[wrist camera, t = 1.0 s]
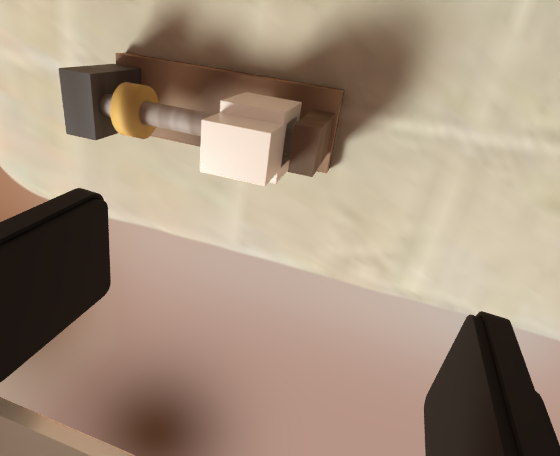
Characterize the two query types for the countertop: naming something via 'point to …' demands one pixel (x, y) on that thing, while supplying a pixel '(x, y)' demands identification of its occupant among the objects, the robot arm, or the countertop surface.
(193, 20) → the countertop surface
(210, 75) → the rail
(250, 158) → the sleeve
